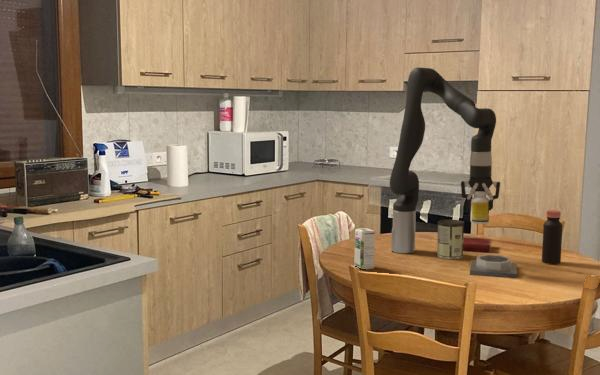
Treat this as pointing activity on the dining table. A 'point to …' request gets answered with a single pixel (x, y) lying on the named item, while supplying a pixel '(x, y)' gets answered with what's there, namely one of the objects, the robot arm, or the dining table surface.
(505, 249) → the dining table surface
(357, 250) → the syrup box
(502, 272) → the collar base
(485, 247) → the hardcover book
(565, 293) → the dining table surface
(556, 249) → the vinegar
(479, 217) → the pill bottle
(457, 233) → the coffee can
